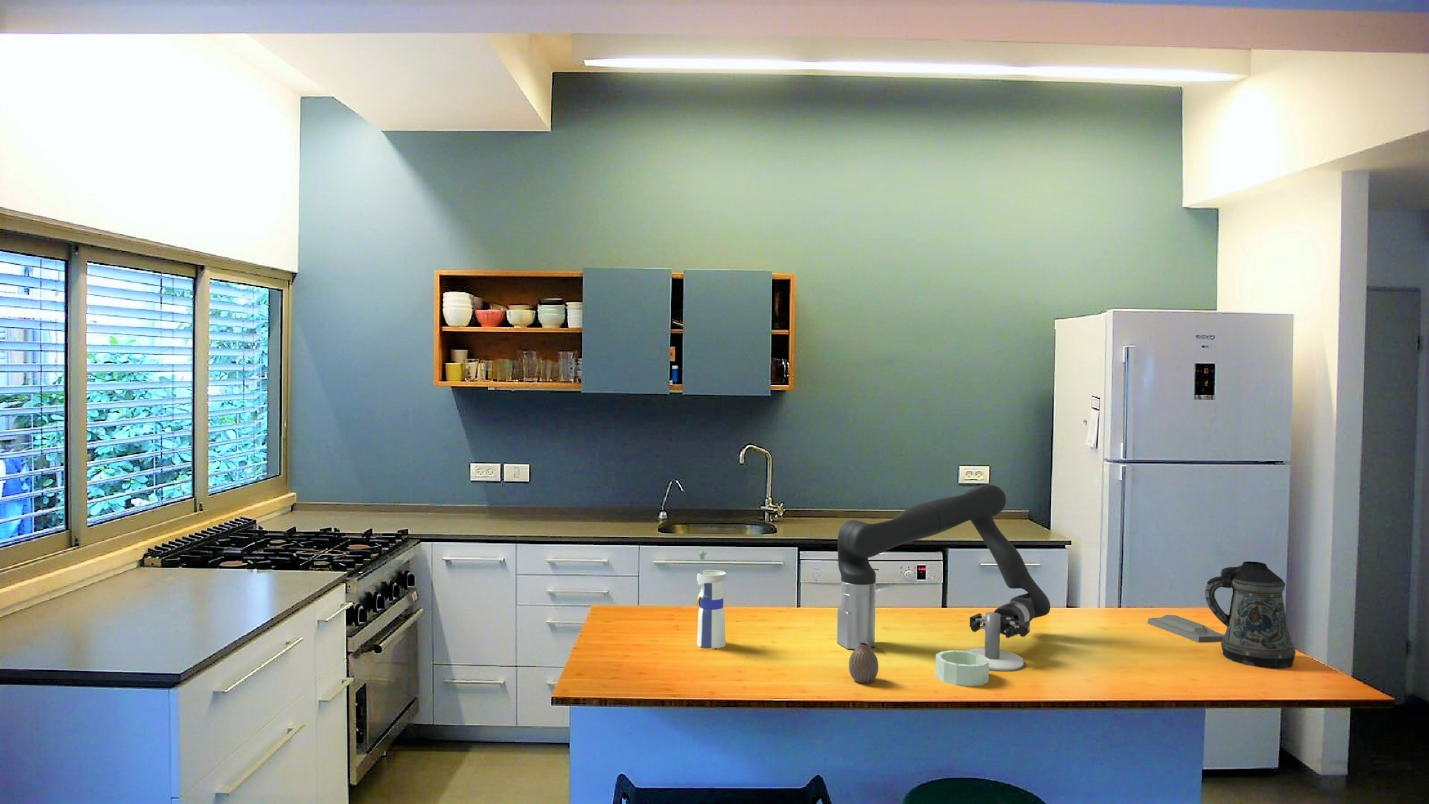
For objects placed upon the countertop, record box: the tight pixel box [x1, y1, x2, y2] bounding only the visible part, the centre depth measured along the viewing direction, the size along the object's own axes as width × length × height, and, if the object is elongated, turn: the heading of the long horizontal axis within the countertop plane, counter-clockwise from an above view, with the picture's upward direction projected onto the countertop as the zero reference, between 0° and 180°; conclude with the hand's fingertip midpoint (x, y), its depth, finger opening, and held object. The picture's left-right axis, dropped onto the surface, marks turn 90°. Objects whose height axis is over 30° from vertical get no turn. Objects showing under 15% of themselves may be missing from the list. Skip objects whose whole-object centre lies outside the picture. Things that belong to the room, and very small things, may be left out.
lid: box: [965, 611, 1025, 672], centre depth 219 cm, size 15×15×12 cm
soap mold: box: [1146, 614, 1225, 643], centre depth 251 cm, size 10×20×4 cm, turn 13°
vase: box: [848, 642, 879, 684], centre depth 205 cm, size 7×7×9 cm
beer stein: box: [1204, 561, 1297, 670], centre depth 225 cm, size 16×19×25 cm
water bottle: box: [696, 549, 728, 650], centre depth 231 cm, size 8×8×25 cm
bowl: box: [935, 649, 990, 687], centre depth 207 cm, size 12×12×5 cm
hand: (990, 630), depth 218 cm, fingers open, 8 cm apart
